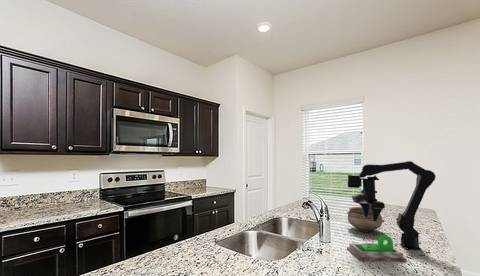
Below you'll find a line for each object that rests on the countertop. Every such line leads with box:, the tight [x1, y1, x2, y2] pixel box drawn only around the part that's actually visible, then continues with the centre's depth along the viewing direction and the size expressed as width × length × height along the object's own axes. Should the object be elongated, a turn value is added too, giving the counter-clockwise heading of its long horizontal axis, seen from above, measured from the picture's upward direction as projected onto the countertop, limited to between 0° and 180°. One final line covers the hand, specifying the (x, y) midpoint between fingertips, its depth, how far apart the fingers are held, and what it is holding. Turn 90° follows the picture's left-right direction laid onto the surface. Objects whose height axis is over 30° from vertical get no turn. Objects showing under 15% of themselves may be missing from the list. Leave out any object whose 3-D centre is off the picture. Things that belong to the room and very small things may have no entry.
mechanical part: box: [362, 234, 394, 252], centre depth 113 cm, size 12×6×8 cm, turn 86°
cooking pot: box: [346, 206, 385, 233], centre depth 150 cm, size 25×19×12 cm
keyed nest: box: [346, 242, 408, 262], centre depth 112 cm, size 20×13×3 cm, turn 88°
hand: (370, 218), depth 129 cm, fingers open, 9 cm apart
